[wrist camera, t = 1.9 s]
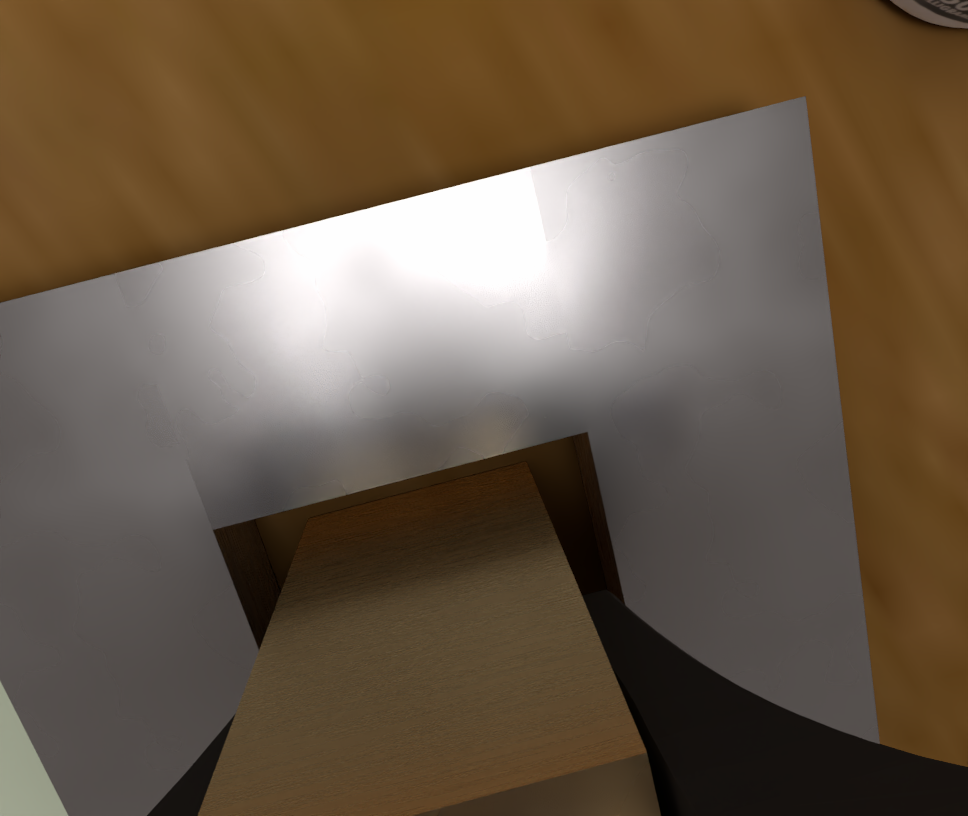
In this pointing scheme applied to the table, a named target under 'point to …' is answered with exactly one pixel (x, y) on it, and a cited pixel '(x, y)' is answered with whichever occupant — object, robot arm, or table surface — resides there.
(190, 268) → the square plate with hole
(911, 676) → the table surface
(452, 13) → the table surface
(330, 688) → the end cover
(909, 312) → the table surface
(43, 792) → the mat
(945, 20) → the supplement bottle
